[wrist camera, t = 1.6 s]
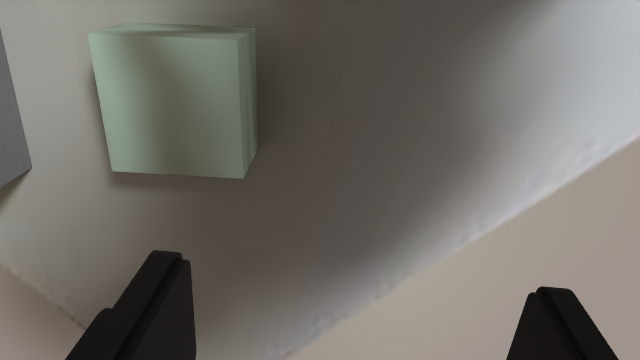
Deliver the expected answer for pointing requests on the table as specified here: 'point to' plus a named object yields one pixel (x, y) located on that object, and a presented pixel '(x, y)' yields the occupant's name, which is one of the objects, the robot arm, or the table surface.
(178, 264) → the robot arm
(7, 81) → the gray rectangular block
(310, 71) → the table surface
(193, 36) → the sage block
